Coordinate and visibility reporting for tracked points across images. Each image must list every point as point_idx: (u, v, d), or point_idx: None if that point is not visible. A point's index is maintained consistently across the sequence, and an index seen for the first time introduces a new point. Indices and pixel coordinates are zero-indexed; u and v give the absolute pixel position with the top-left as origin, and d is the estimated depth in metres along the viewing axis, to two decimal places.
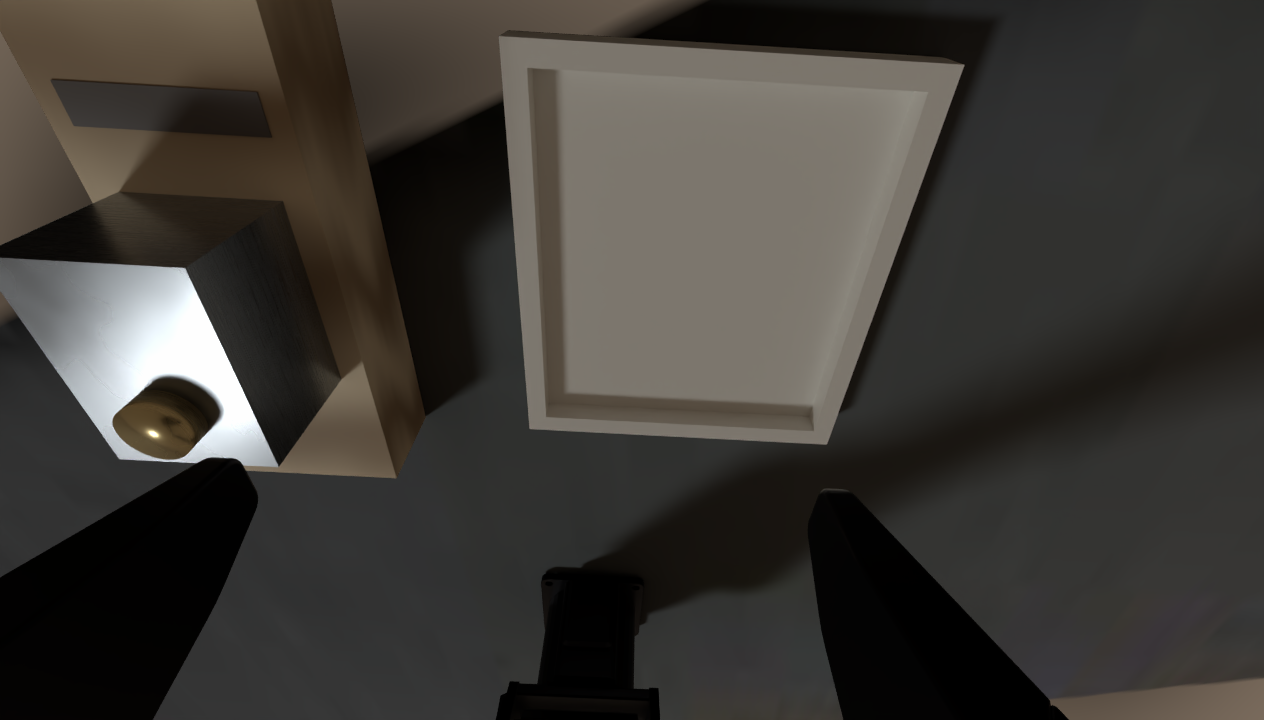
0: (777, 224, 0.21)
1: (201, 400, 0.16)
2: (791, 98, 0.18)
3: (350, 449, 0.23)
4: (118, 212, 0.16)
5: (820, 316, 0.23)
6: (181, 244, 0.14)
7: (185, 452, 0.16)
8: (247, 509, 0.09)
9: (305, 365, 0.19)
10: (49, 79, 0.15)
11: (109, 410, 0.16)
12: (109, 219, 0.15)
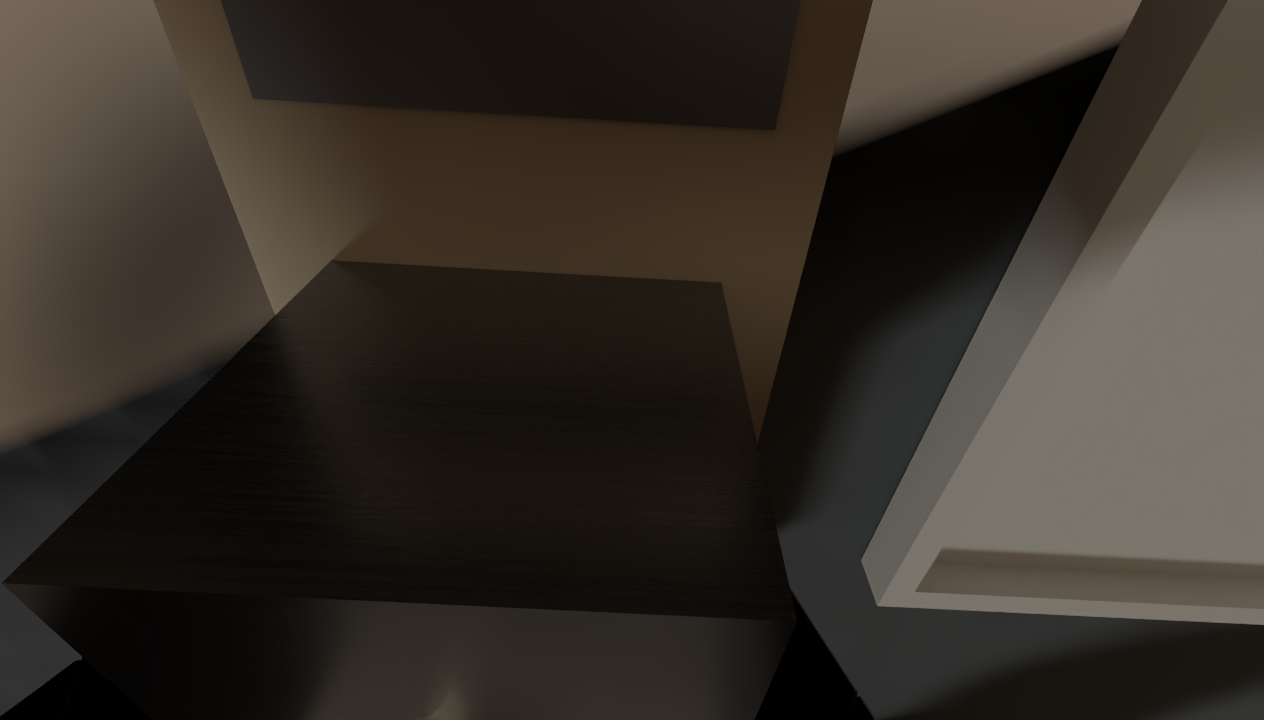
0: None
1: None
2: None
3: None
4: (372, 328, 0.06)
5: None
6: (654, 467, 0.05)
7: None
8: None
9: None
10: None
11: None
12: (367, 359, 0.05)
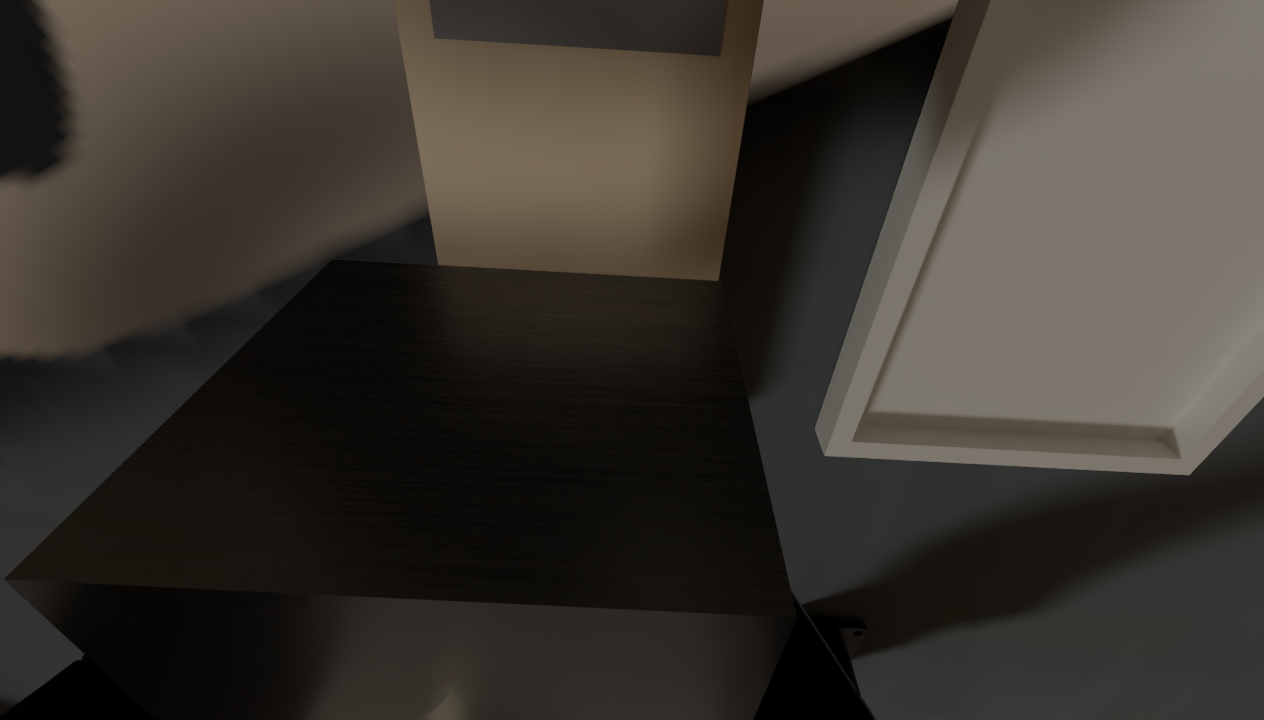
0: (1245, 195, 0.16)
1: None
2: None
3: None
4: (373, 328, 0.06)
5: (1239, 316, 0.18)
6: (653, 464, 0.05)
7: None
8: None
9: None
10: None
11: None
12: (368, 356, 0.06)
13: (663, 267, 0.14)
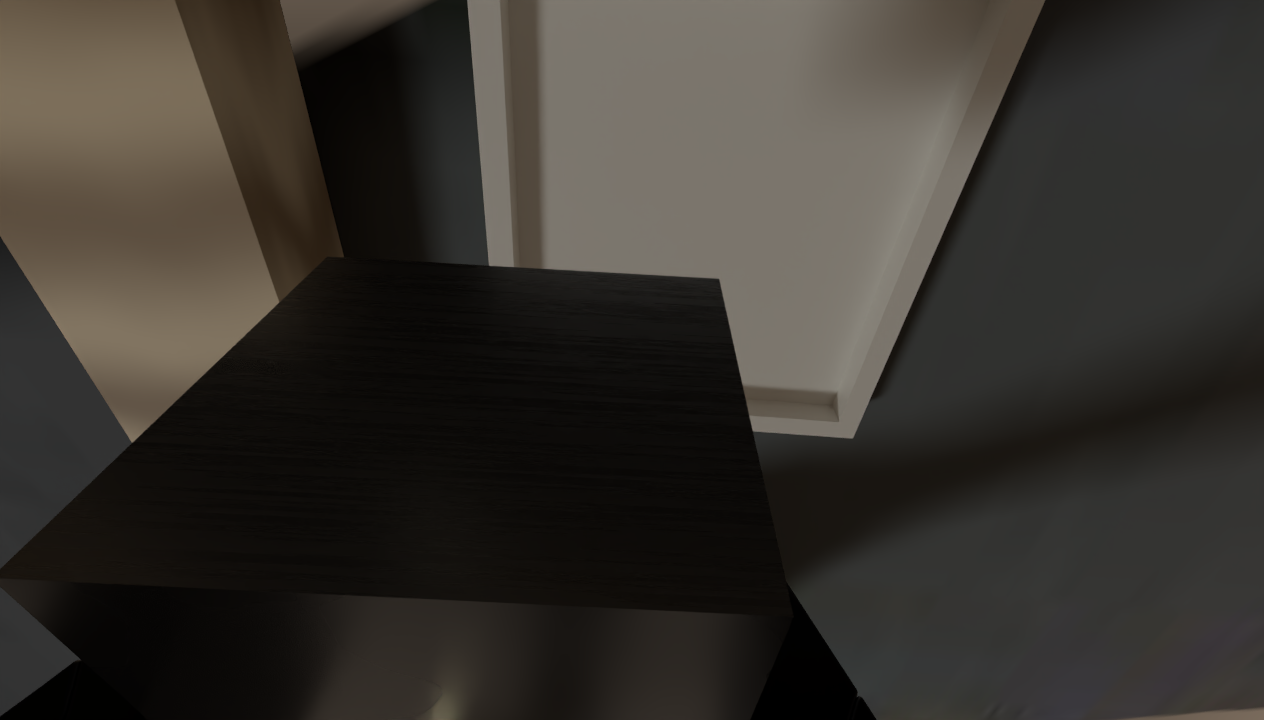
0: (810, 161, 0.17)
1: None
2: None
3: None
4: (368, 325, 0.06)
5: (854, 281, 0.19)
6: (650, 463, 0.04)
7: None
8: None
9: None
10: None
11: None
12: (362, 354, 0.05)
13: (193, 207, 0.14)
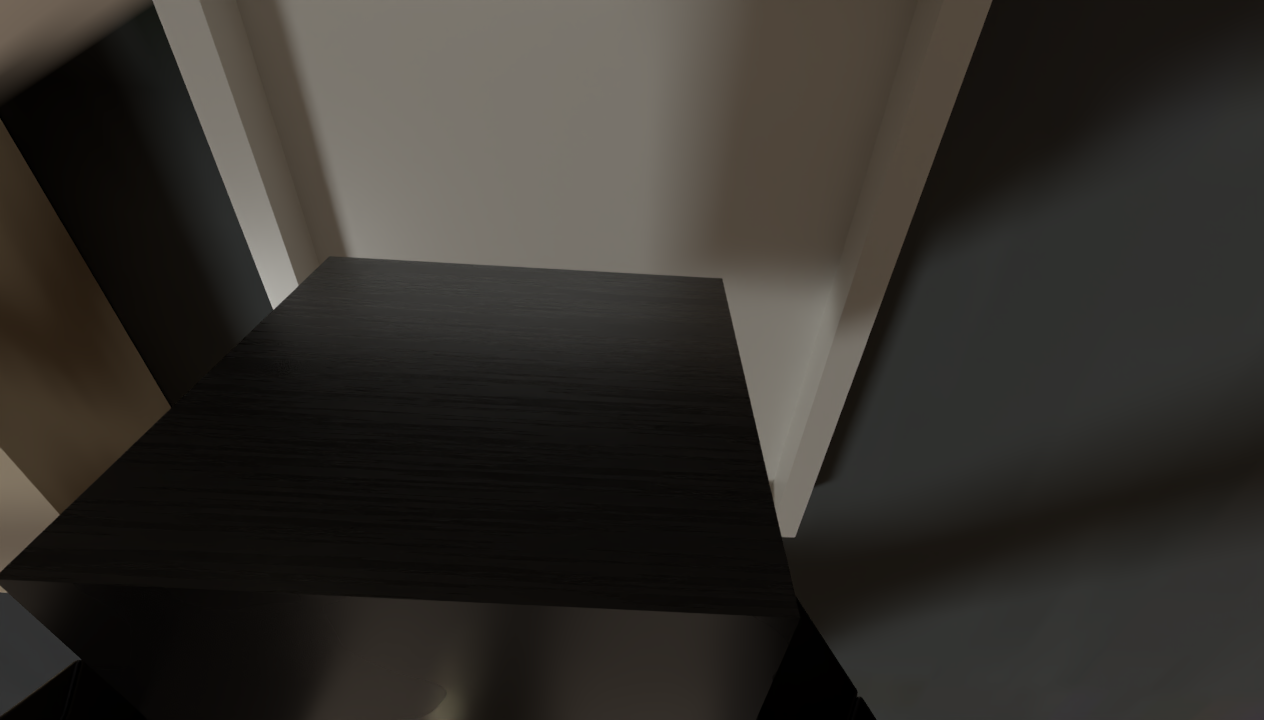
0: (697, 206, 0.12)
1: None
2: None
3: None
4: (371, 324, 0.06)
5: (777, 354, 0.15)
6: (654, 463, 0.04)
7: None
8: None
9: None
10: None
11: None
12: (365, 354, 0.05)
13: None
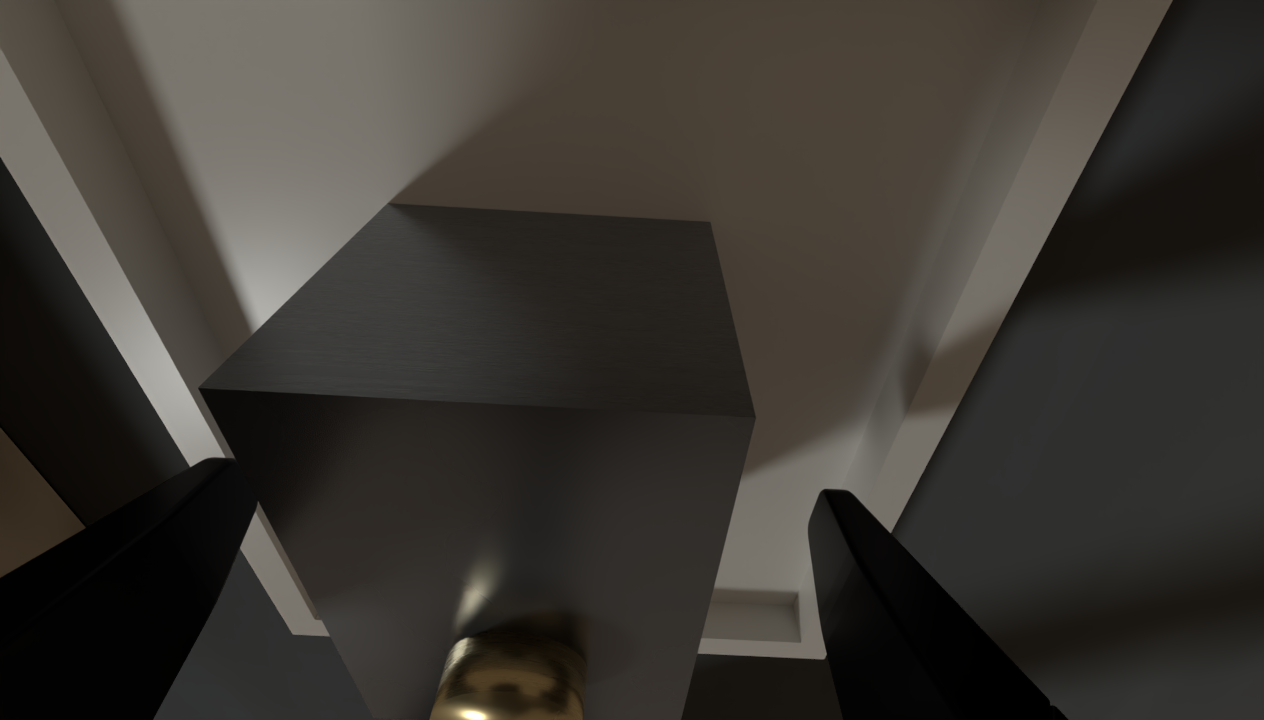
0: None
1: (599, 647, 0.08)
2: None
3: None
4: (430, 248, 0.07)
5: (809, 460, 0.12)
6: (655, 335, 0.06)
7: None
8: (247, 509, 0.09)
9: None
10: None
11: (393, 657, 0.08)
12: (429, 267, 0.07)
13: None
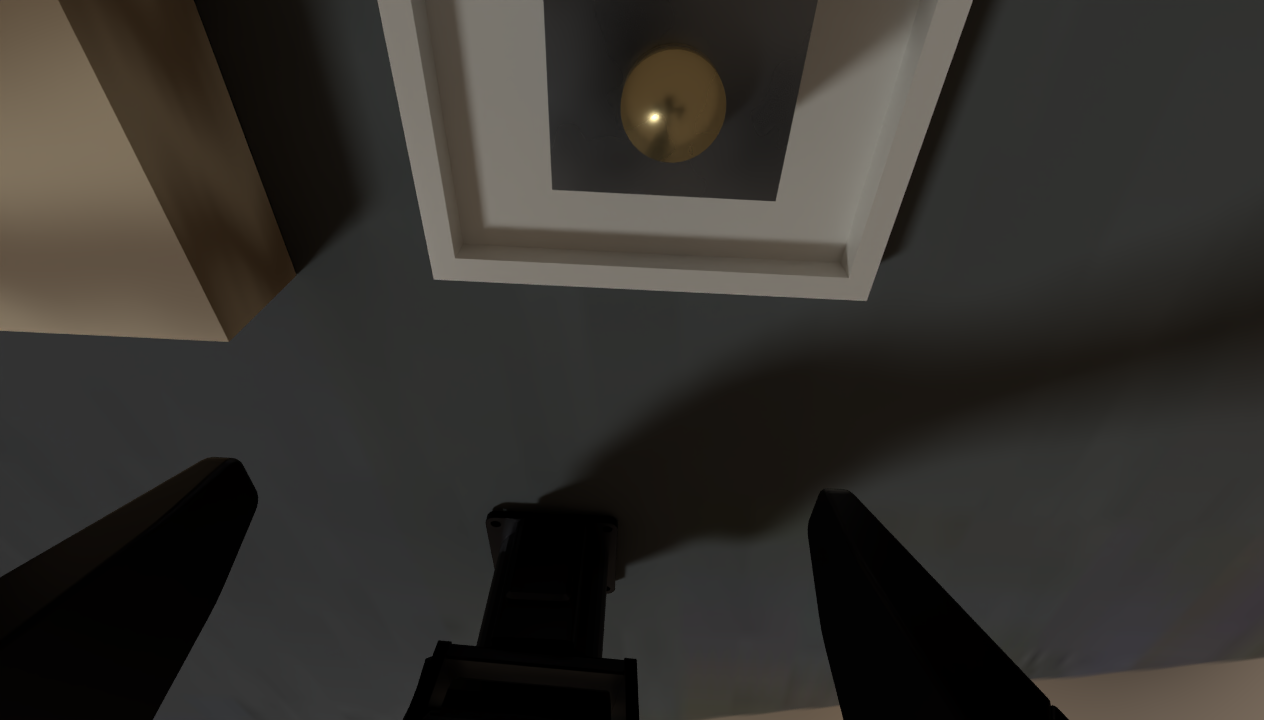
0: None
1: (734, 65, 0.11)
2: None
3: (147, 290, 0.15)
4: None
5: (863, 74, 0.15)
6: None
7: (704, 145, 0.11)
8: (247, 509, 0.09)
9: None
10: None
11: (584, 88, 0.11)
12: None
13: None
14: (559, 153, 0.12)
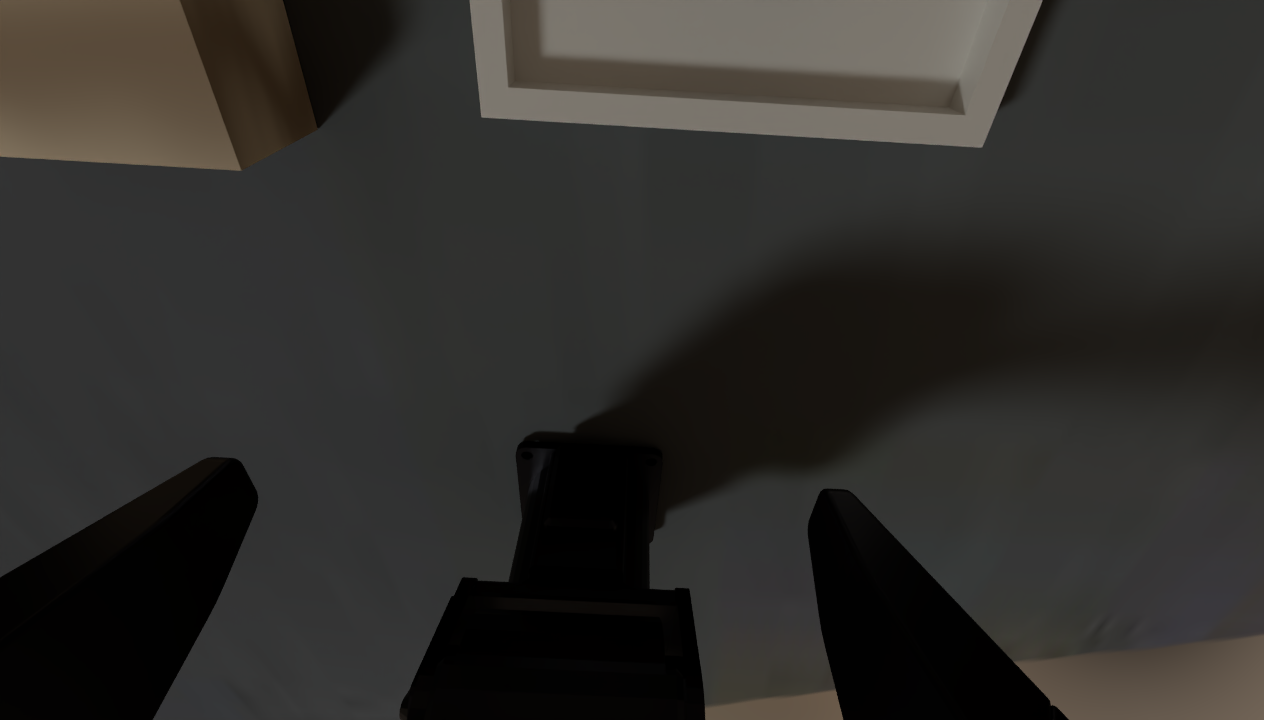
0: None
1: None
2: None
3: (145, 93, 0.13)
4: None
5: None
6: None
7: None
8: (247, 509, 0.09)
9: None
10: None
11: None
12: None
13: None
14: None
